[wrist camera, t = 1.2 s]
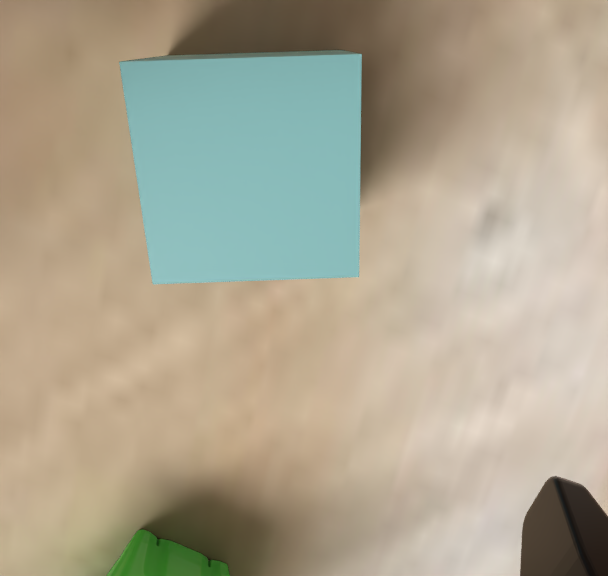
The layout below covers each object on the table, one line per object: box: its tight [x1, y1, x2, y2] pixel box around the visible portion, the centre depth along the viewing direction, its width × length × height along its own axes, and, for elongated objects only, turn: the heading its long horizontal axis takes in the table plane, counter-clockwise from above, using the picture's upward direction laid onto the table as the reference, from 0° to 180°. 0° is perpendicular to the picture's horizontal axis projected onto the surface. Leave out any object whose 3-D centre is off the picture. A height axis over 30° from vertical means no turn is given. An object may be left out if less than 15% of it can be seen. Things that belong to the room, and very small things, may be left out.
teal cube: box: [119, 50, 362, 284], centre depth 18 cm, size 6×6×6 cm
